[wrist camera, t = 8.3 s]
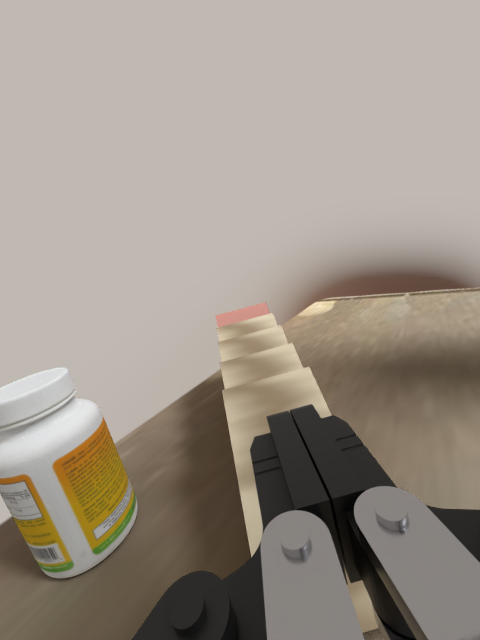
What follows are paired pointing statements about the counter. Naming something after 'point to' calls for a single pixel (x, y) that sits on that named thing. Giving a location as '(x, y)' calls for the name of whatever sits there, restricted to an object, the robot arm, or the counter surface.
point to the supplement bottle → (62, 474)
